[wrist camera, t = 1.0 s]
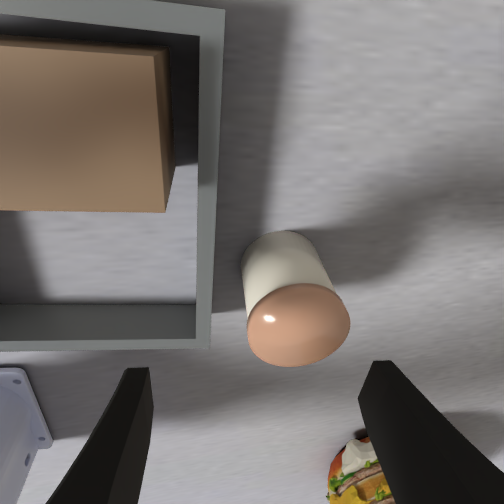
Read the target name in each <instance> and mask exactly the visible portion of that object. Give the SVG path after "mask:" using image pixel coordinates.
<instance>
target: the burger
mask: <svg viewBox="0 0 504 504" xmlns="http://www.w3.org/2000/svg"><path fill="white" fill-rule="evenodd" d="M328 491H329V492H328V493H327V496H326V498H327V500H328V501H329V503H330V504H395V501H394V499H393V496H392V494H391V491H390V489H389V486H388V484H387V481H386V479H385V476H384V474H383V471H382V469H381V466H380V464H379V461H378V459H377V456H376V454H375V451H374V449H373V446H372V444H371V441H370V439H369V437H367V438H364V439H362V440H360V441H359V440H356V439H353V440H350V441H349V442H348V443H347V445H346V448H345V449H344V450H343V451H342V452H340V453H339V454H338V455H337V456H336V457H335V459H334V460H333V462H332V463H331V466H330V471H329V476H328Z"/></svg>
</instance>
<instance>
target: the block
mask: <svg viewBox="0 0 504 504" xmlns="http://www.w3.org/2000/svg"><path fill="white" fill-rule="evenodd" d="M174 171H175V148H174V129H173V110H172V91H171V72H170V53H169V47H167V46H153V45H140V44H126V43H113V42H99V41H86V40H72V39H59V38H45V37H32V36H18V35H5V34H0V210H15V211H84V212H154V213H165V211H166V207H167V203H168V198H169V194H170V189H171V185H172V180H173V176H174Z"/></svg>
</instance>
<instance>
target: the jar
mask: <svg viewBox="0 0 504 504" xmlns="http://www.w3.org/2000/svg"><path fill="white" fill-rule="evenodd" d="M241 273H242V280H243V288H244V295H245V303H246V310H247V318H248V320H247V334H248V341H249V345H250V348H251V349H252V351H253V352H254V354H255V355H256V356H257V357H259V358H260V359H261V360H263V361H265V362H267V363H270V364H273V365H277V366H283V367H297V366H304V365H308V364H311V363H314V362H317V361H319V360H322V359H324V358H325V357H327V356H329V355H330V354H332V353H333V352H334V351H336V350H337V349H338V348H339V347H340V346H341V345H342V343H343V342H344V341H345V339H346V337H347V335H348V333H349V330H350V317H349V314H348V312H347V310H346V308H345V306H344V304H343V302H342V300H341V298H340V297H339V296H338V295H337V294H336V292H335V290H334V287H333V285H332V283H331V281H330V279H329V277H328V275H327V273H326V271H325V268H324V266H323V264H322V262H321V260H320V258H319V256H318V254H317V251H316V249H315V247H314V245H313V244H312V243H311V242H310V241H309V240H308V239H307V238H306V237H304V236H303V235H301V234H298V233H296V232H291V231H275V232H271V233H268V234H265V235H263V236H261V237H259V238H258V239H256V240H255V241H254V242H252V243H251V244H250V245H249V246H248V248H247V249H246V251H245V252H244V254H243V257H242V260H241Z"/></svg>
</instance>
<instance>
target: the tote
mask: <svg viewBox="0 0 504 504" xmlns="http://www.w3.org/2000/svg"><path fill="white" fill-rule="evenodd" d="M0 14H9V15H18V16H27V17H36V18H45V19H54V20H62V21H71V22H80V23H89V24H98V25H107V26H116V27H125V28H134V29H143V30H152V31H161V32H170V33H179V34H188V35H197V36H200V60H199V135H198V209H197V284H196V305H26V304H0V352H14V351H78V350H143V349H207V348H210V332H211V310H212V289H213V267H214V245H215V223H216V202H217V180H218V158H219V137H220V115H221V93H222V71H223V50H224V28H225V9H218V8H210V7H201V6H193V5H185V4H177V3H169V2H161V1H153V0H0Z"/></svg>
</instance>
